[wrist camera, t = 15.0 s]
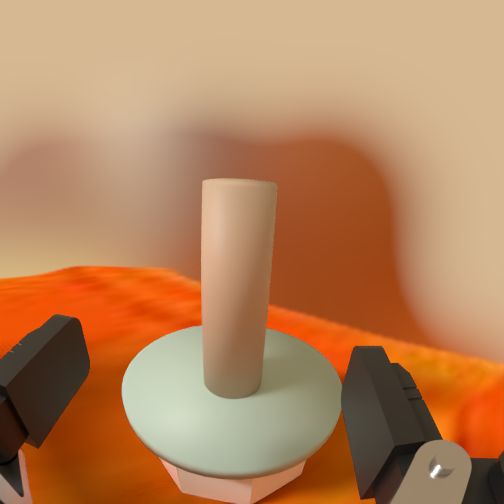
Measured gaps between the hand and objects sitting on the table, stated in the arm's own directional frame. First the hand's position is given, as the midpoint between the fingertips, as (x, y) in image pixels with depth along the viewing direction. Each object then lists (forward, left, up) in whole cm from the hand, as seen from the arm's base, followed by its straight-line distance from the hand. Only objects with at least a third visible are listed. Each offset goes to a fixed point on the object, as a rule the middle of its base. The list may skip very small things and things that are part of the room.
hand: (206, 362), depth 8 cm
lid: (-7, +5, -9) cm, 12 cm away
